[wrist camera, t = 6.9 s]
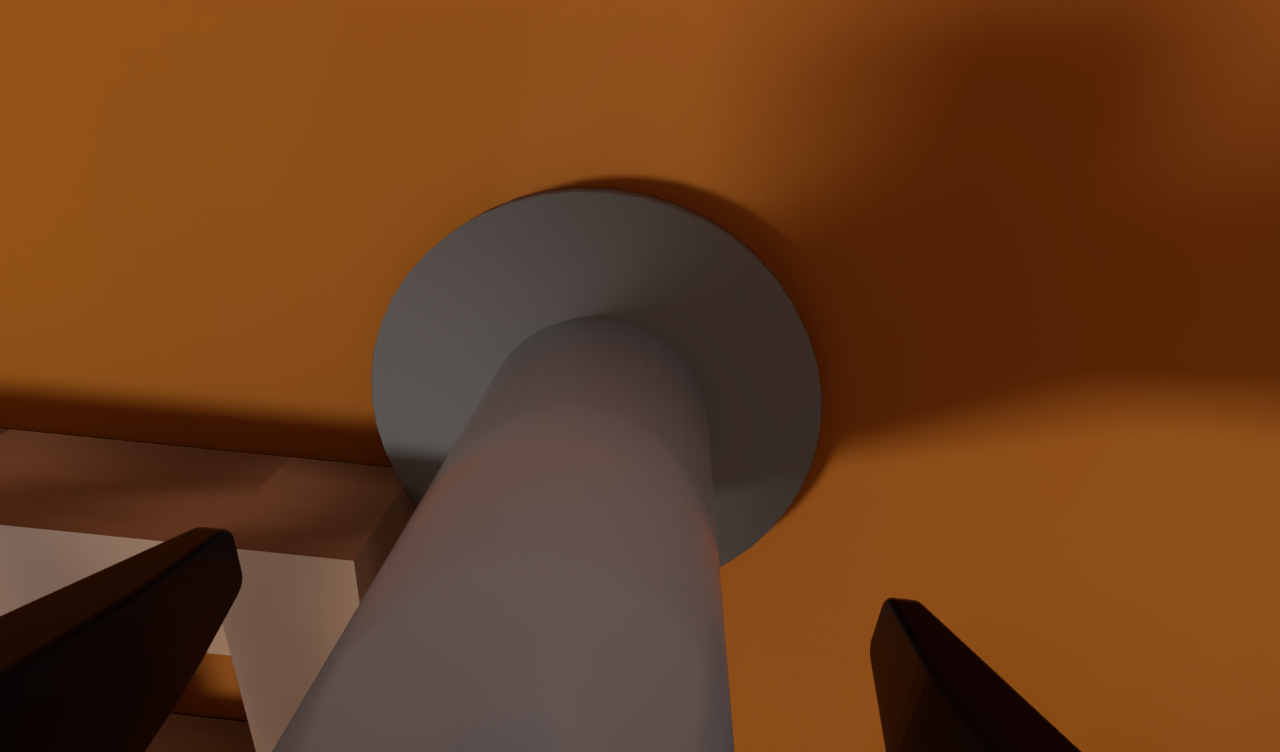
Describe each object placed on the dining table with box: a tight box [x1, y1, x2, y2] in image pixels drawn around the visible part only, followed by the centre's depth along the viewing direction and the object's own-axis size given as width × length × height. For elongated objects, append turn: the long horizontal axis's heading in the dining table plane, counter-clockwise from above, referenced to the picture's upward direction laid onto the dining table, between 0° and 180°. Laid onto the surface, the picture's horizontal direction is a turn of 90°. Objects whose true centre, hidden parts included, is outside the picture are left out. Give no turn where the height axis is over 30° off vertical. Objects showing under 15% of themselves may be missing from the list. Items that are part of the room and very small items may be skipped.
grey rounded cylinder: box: [272, 319, 734, 752], centre depth 9 cm, size 4×4×9 cm
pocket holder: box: [0, 428, 417, 752], centre depth 16 cm, size 12×12×3 cm
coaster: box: [371, 187, 821, 567], centre depth 13 cm, size 9×9×1 cm
